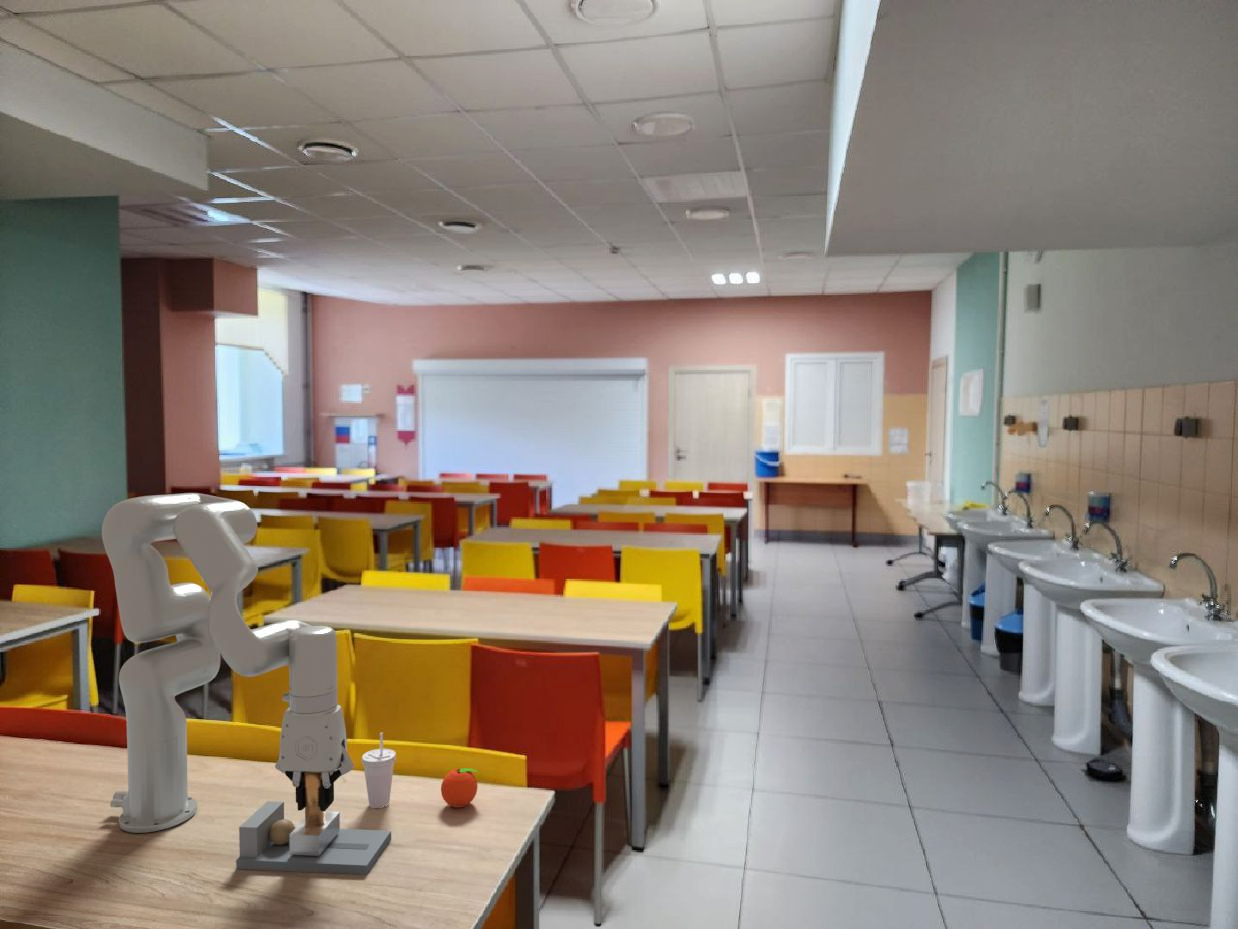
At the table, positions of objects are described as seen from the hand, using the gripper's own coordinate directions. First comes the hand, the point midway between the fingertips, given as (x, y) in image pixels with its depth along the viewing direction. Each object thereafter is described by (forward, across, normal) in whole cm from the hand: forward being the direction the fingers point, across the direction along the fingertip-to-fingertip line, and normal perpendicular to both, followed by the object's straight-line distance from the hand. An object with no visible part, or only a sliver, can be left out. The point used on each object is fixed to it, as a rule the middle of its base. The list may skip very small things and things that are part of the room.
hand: (315, 806), depth 132 cm
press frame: (+8, 0, 0) cm, 8 cm away
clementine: (+9, +20, +19) cm, 29 cm away
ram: (+6, 0, 0) cm, 6 cm away
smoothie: (+8, +4, +18) cm, 20 cm away
